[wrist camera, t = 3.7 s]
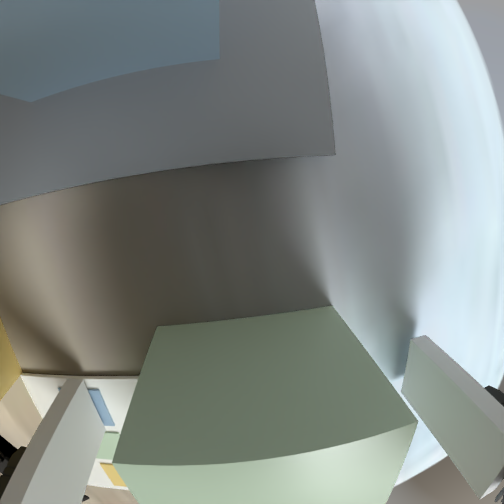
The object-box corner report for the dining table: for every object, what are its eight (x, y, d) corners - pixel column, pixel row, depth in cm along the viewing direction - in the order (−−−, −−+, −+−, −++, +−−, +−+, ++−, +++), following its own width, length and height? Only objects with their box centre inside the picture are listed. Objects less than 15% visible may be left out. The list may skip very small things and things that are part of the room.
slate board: (11, -44, 5) (3, -50, 5) (280, -104, 6) (284, -114, 5) (-11, 208, 9) (-24, 211, 8) (326, 155, 9) (335, 154, 9)
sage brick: (157, 325, 10) (111, 463, 5) (331, 304, 11) (418, 421, 5) (191, 441, 12) (185, 559, 6) (326, 424, 12) (370, 533, 7)
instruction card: (22, 372, 10) (19, 376, 10) (143, 375, 11) (142, 380, 10) (87, 482, 12) (86, 486, 12) (188, 489, 13) (188, 493, 13)
